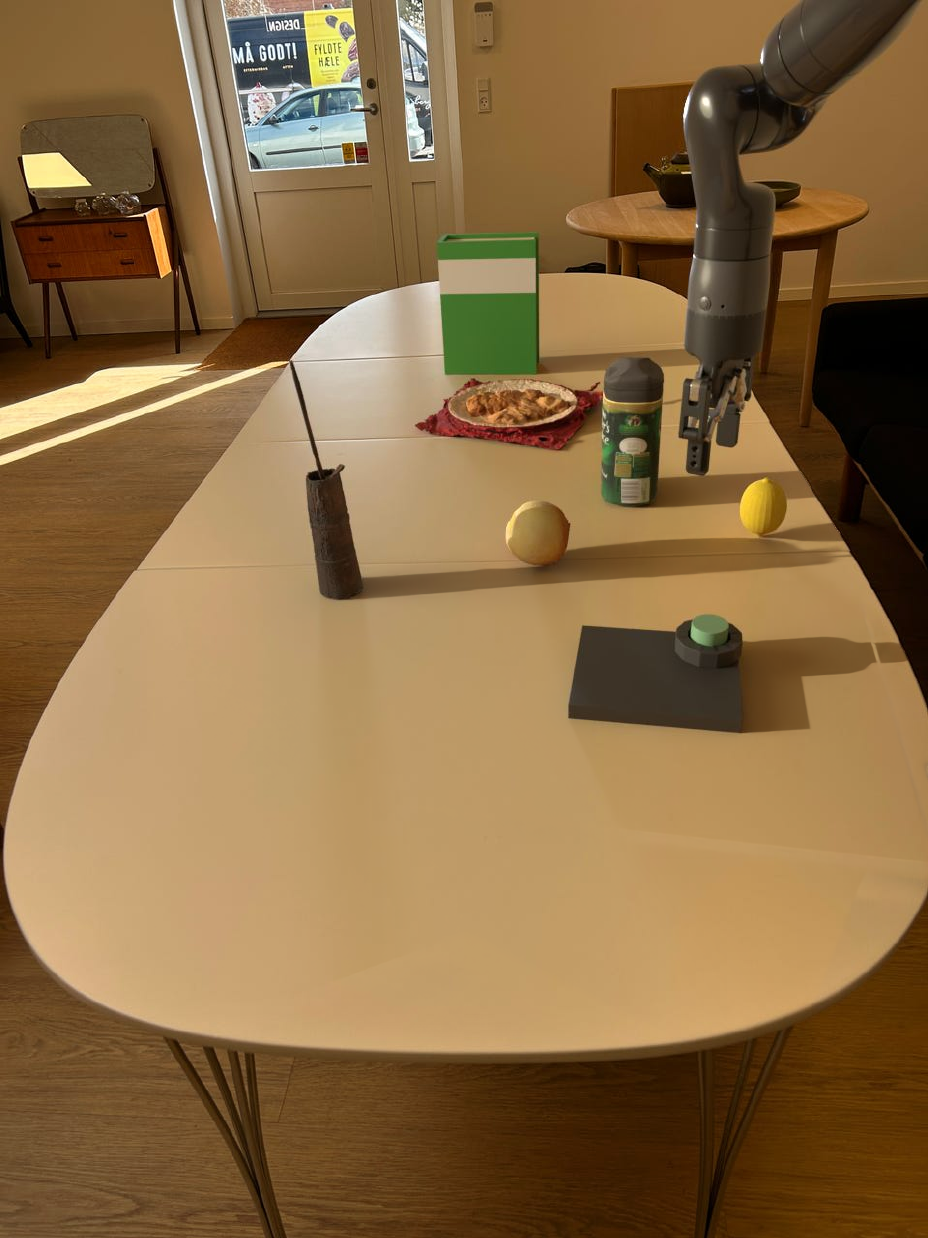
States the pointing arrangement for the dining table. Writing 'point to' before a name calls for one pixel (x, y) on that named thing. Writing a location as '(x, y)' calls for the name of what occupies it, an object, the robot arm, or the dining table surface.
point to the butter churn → (329, 523)
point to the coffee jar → (631, 431)
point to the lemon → (763, 507)
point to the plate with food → (513, 412)
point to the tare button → (709, 630)
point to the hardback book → (489, 302)
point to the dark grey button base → (657, 679)
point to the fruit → (538, 533)
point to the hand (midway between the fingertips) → (712, 458)
